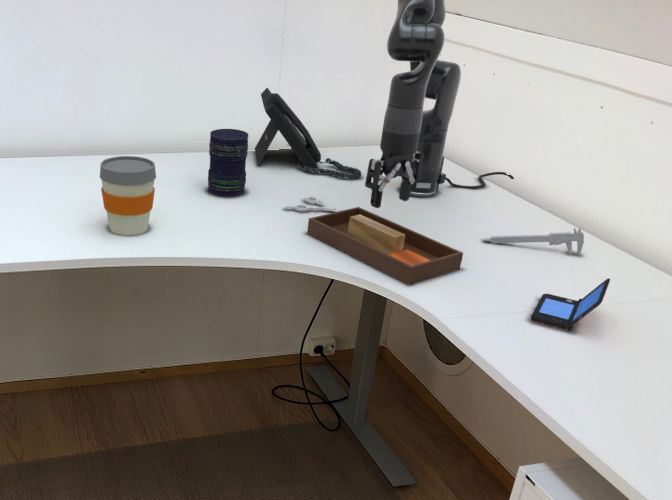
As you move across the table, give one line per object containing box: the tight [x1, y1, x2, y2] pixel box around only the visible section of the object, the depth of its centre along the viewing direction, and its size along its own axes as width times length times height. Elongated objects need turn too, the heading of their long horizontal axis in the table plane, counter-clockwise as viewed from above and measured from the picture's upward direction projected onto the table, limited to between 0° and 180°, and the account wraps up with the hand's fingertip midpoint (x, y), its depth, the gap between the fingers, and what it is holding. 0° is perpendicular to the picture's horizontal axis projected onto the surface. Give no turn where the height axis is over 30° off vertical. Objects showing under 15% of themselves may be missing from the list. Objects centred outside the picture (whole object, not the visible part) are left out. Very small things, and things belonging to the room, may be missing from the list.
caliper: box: [484, 227, 585, 255], centre depth 178 cm, size 20×1×6 cm, turn 72°
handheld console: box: [530, 277, 611, 332], centre depth 149 cm, size 12×11×7 cm
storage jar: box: [207, 128, 249, 198], centre depth 203 cm, size 10×10×15 cm
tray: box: [306, 206, 464, 286], centre depth 175 cm, size 16×32×4 cm, turn 34°
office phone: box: [254, 87, 362, 180], centre depth 225 cm, size 29×28×20 cm
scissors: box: [285, 196, 344, 213], centre depth 196 cm, size 11×1×20 cm
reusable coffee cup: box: [99, 155, 157, 236], centre depth 179 cm, size 13×13×15 cm
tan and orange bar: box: [347, 215, 430, 266], centre depth 173 cm, size 6×22×4 cm, turn 34°
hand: (389, 203), depth 170 cm, fingers open, 8 cm apart
